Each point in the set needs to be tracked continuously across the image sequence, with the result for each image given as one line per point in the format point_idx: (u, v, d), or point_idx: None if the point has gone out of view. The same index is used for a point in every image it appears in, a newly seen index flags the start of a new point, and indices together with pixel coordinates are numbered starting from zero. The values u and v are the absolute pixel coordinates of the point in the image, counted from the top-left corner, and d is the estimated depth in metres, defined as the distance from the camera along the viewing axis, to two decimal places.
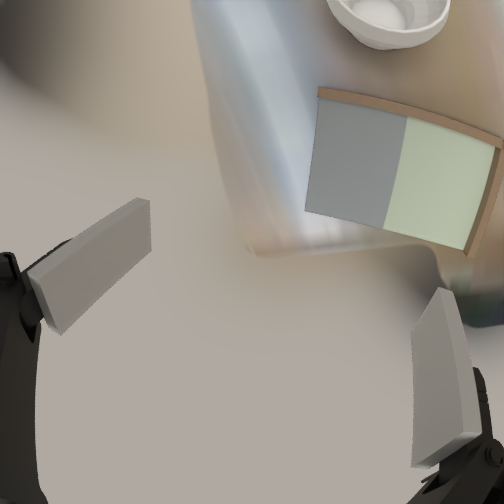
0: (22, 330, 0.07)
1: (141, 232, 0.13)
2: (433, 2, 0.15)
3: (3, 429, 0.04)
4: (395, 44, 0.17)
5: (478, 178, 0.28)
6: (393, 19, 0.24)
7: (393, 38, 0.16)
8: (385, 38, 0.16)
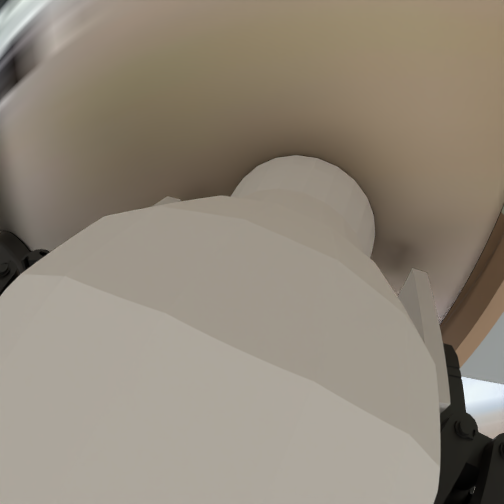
0: None
1: None
2: None
3: None
4: None
5: None
6: None
7: None
8: None
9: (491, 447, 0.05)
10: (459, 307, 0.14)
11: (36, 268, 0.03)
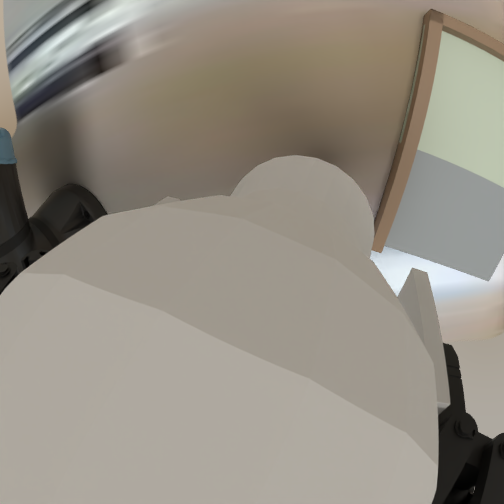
0: None
1: None
2: None
3: None
4: None
5: (480, 61, 0.17)
6: None
7: None
8: None
9: (491, 447, 0.05)
10: (384, 197, 0.27)
11: (35, 267, 0.03)
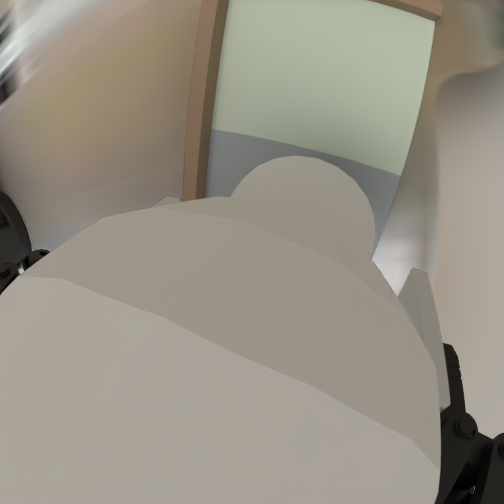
0: None
1: None
2: None
3: None
4: None
5: (291, 3, 0.15)
6: None
7: None
8: None
9: (491, 447, 0.05)
10: None
11: (34, 270, 0.03)
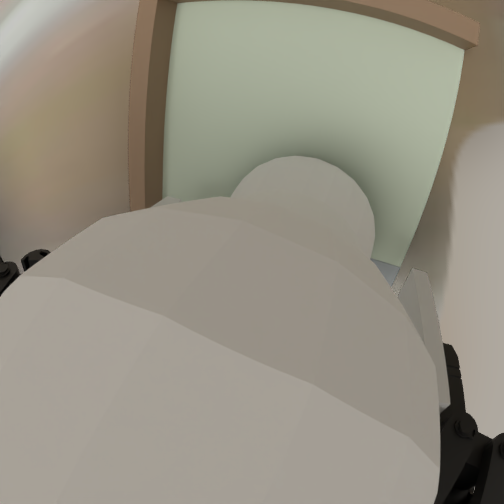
0: None
1: None
2: None
3: None
4: None
5: (256, 24, 0.12)
6: None
7: None
8: None
9: (491, 447, 0.05)
10: None
11: (35, 270, 0.03)
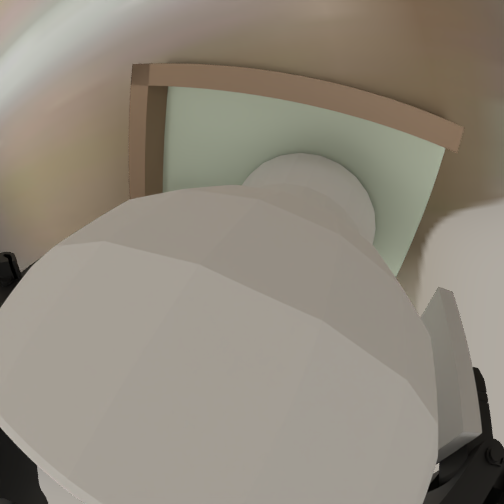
0: None
1: None
2: None
3: None
4: None
5: (244, 117, 0.14)
6: None
7: None
8: None
9: None
10: None
11: (70, 240, 0.04)
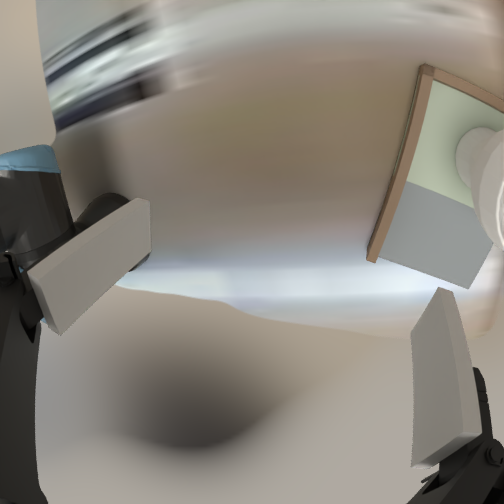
0: (22, 330, 0.07)
1: (141, 232, 0.13)
2: None
3: (3, 429, 0.04)
4: None
5: (465, 106, 0.23)
6: None
7: None
8: None
9: None
10: (379, 218, 0.34)
11: None
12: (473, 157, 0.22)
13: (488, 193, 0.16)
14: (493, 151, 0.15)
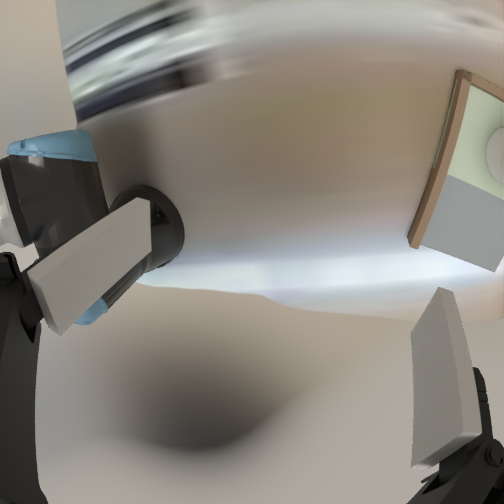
0: (22, 330, 0.07)
1: (141, 232, 0.13)
2: None
3: (3, 429, 0.04)
4: None
5: (494, 108, 0.24)
6: None
7: None
8: None
9: None
10: (420, 207, 0.35)
11: None
12: None
13: None
14: None
